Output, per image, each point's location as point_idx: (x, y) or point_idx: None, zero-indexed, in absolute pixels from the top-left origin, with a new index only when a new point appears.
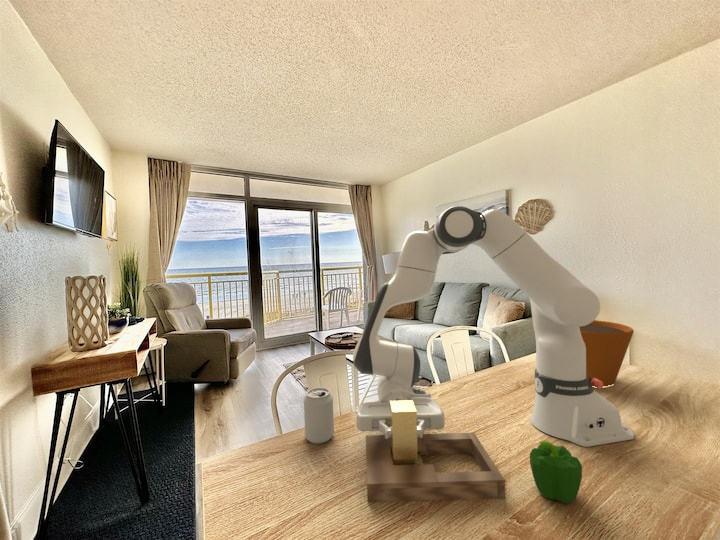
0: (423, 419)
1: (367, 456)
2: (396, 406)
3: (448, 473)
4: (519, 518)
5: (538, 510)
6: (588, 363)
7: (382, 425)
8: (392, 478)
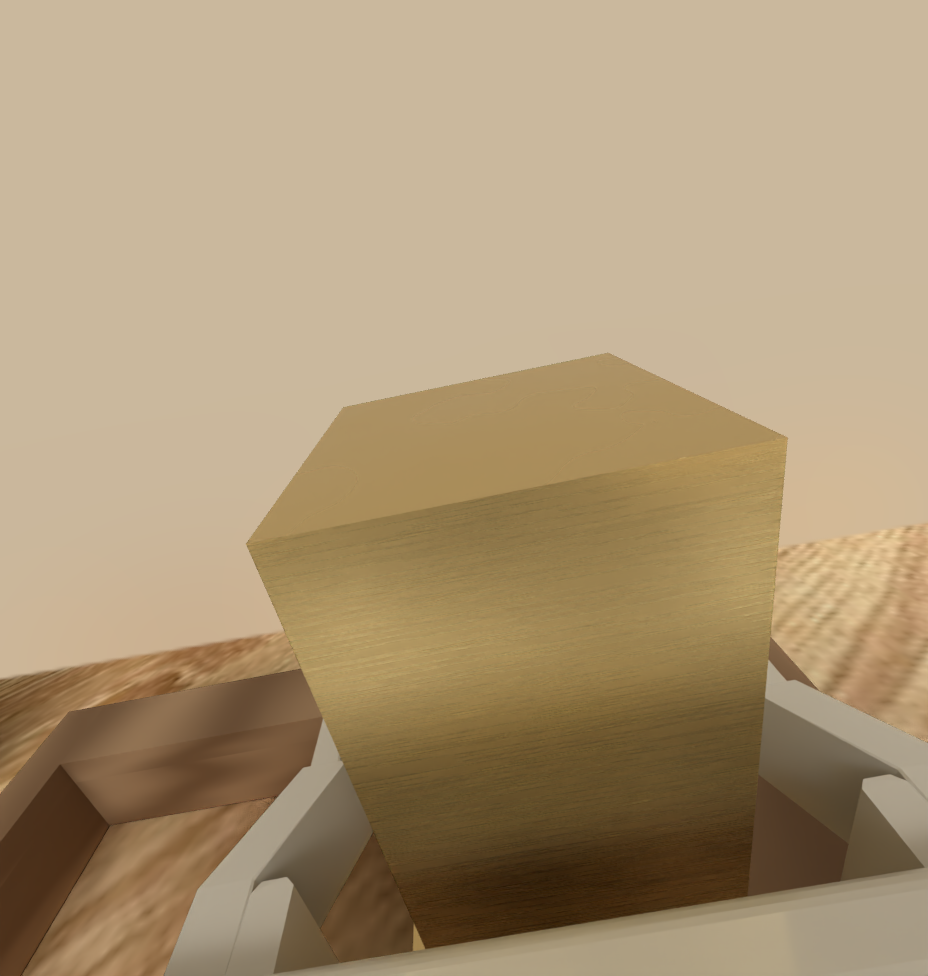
0: (171, 958)
1: None
2: (580, 395)
3: (301, 712)
4: (161, 688)
5: None
6: None
7: (839, 702)
8: None
